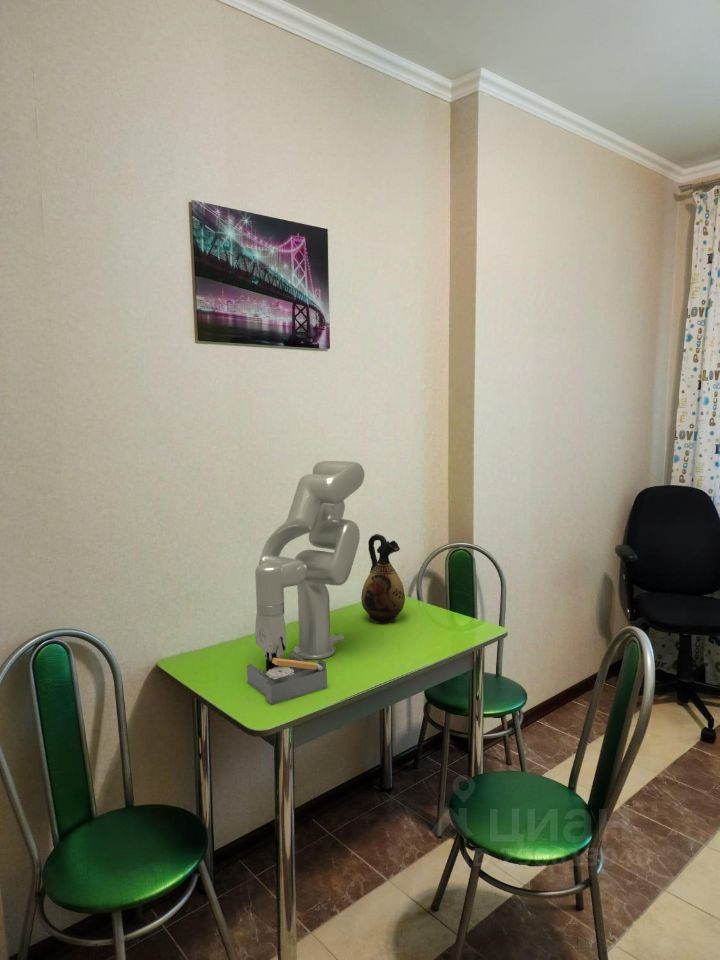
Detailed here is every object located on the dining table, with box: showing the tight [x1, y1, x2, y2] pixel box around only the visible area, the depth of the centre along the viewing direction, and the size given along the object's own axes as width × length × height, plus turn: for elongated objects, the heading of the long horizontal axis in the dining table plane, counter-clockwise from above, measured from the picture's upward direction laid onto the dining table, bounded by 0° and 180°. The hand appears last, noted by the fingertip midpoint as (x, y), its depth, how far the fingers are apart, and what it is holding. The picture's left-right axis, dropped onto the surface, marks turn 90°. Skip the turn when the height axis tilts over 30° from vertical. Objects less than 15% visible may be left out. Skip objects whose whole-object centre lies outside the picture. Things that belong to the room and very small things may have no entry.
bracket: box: [246, 652, 328, 706], centre depth 172 cm, size 17×16×7 cm
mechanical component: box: [265, 666, 294, 680], centre depth 172 cm, size 10×4×10 cm
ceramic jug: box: [360, 533, 406, 625], centre depth 224 cm, size 17×15×30 cm
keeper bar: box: [272, 657, 323, 671], centre depth 167 cm, size 14×3×1 cm, turn 125°
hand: (272, 672), depth 178 cm, fingers closed
